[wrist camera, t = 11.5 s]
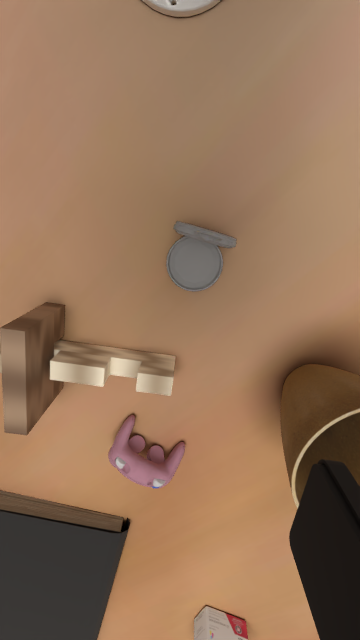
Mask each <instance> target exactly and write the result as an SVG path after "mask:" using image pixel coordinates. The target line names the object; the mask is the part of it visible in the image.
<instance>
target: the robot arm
mask: <svg viewBox="0 0 360 640" xmlns="http://www.w3.org/2000/svg"><path fill="white" fill-rule="evenodd" d="M142 1H143V2H144V3H146V4H147V5H148V6H150V7H151V8H152V9H154V10H156V11H158V12H161V13H163V14H166V15H170V16H175V17H189V16H193V15H196V14H200V13H202V12H204V11H206V10H208V9H210V8H212V7H213V6H215V5H216V4H217V3H218V2H220V1H221V0H142ZM173 3H175V4H176V5H172V4H173ZM289 539H290V546H291V550H292V553H293V556H294V559H295V562H296V566H297V569H298V572H299V575H300V578H301V581H302V584H303V588H304V591H305V594H306V597H307V600H308V603H309V606H310V610H311V613H312V616H313V619H314V622H315V625H316V628H317V632H318V635H319V638H320V640H360V486H359V485H358V483H357V482H356V480H355V479H354V477H353V476H352V474H351V472H350V471H349V469H348V468H347V466H346V465H345V464H344V463H343V462H340V461H332V460H325V459H321V460H319V461H318V463H317V464H313V465H312V468H311V470H310V473H309V476H308V479H307V482H306V485H305V488H304V491H303V494H302V497H301V500H300V503H299V506H298V509H297V512H296V515H295V518H294V521H293V524H292V527H291V530H290V536H289Z"/></svg>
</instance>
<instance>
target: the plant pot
mask: <svg viewBox="0 0 360 640" xmlns="http://www.w3.org/2000/svg"><path fill="white" fill-rule="evenodd" d="M281 433H282V442H283V450H284V456H285V461H286V466H287V471H288V476H289V481H290V486H291V490H292V495H293V499H294V502H295V504H296V506H297V508H298V506H299V503H300V500H301V497H302V494H303V491H304V488H305V485H306V482H307V479H308V476H309V473H310V470H311V468H312V465H313V464H317V463H318V461H319V460H321V459H325V460H332V461H340V462H343V463H344V464H345V465H346V466H347V468H348V469H349V471H350V472H351V474H352V476H353V477H354V479H355V480H356V482H357V483H358V485H359V486H360V375H357V374H354V373H351V372H348V371H345V370H342V369H338V368H334V367H330V366H325V365H319V364H307V365H304V366H301V367H299V368H297V369H295V370H294V371H292V372H291V373H290V374H289V376H288V377H287V378H286V380H285V382H284V385H283V390H282V397H281Z"/></svg>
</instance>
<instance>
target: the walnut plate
mask: <svg viewBox="0 0 360 640" xmlns="http://www.w3.org/2000/svg"><path fill="white" fill-rule="evenodd" d="M64 321H65V305H61V304H54V303H47V302H46V303H44V304H42V305H40V306H39V307H37V308H35V309H33V310H31V311H30V312H28V313H26V314H24V315H22V316H21V317H19V318H17V319H15V320H13V321H12V322H10V323H8V324H6V325H4V326H3V327H1V328H0V342H1V364H2V386H3V407H4V429H5V433H13V434H21V435H28V433H29V432H30V431H31V429H32V428H33V427H34V425H35V424H36V423H37V421H38V420H39V419H40V417H41V416H42V415H43V414H44V412H45V411H46V410H47V408H48V407H49V406H50V404H51V403H52V402H53V400H54V399H55V398H56V396H57V395H58V394H59V392H60V391H61V390H62V389H63V381H57V380H50V360H51V359H52V358H53V357H54V344H55V343H56V342H57V341H58V340H59V339H60V338H61V337H62V336H64Z"/></svg>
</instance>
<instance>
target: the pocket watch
mask: <svg viewBox="0 0 360 640" xmlns="http://www.w3.org/2000/svg"><path fill="white" fill-rule="evenodd" d="M173 229H175V230H176V232H177V233H179V234H181V235H184V236H185V237H182V238H181V239H179V240H178V241H176V242H175V244H174V245H173V246H172V247H171V249H170V251H169V253H168V256H167V271H168V273H169V276H170V278H171V279H172V281H173V282H174V283H175V284H176V285H177V286H179V287H180V288H182V289H184V290H187V291H201V290H204V289H207V288H209V287H210V286H212V285H213V284H214V283H215V282H216V281H217V279H218V278H219V276H220V274H221V271H222V267H223V258H222V254H221V251H220V250H219V248H218V246H221V247H225V248H232V247H235V246H236V239H235V238H233V237H231V236H228V235H225V234H222V233H219V232H215V231H212V230H209V229H205V228H202V227H199V226H195V225H192V224H188V223H184V222H179V221H177V222H176V224H175V225H174V228H173Z"/></svg>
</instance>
